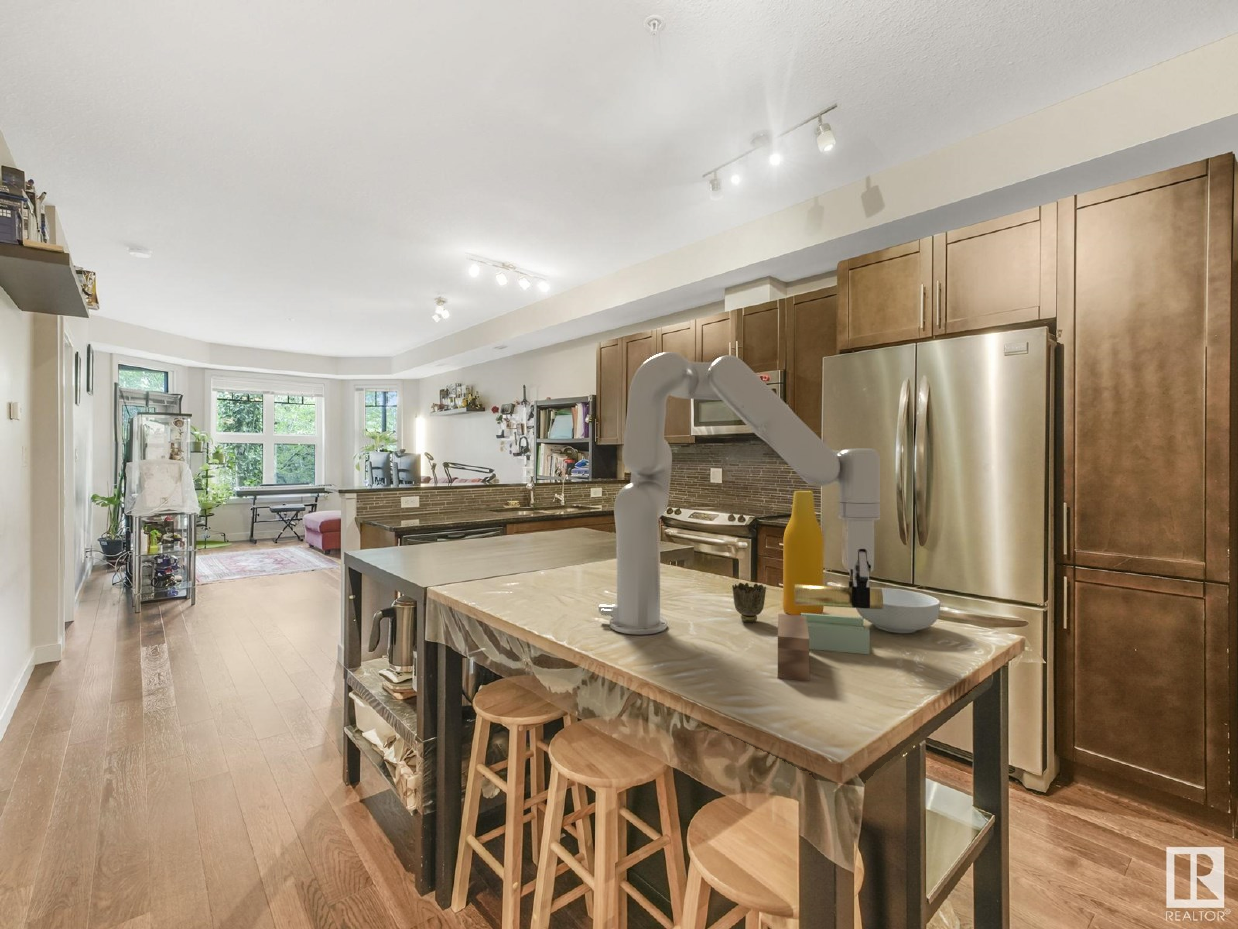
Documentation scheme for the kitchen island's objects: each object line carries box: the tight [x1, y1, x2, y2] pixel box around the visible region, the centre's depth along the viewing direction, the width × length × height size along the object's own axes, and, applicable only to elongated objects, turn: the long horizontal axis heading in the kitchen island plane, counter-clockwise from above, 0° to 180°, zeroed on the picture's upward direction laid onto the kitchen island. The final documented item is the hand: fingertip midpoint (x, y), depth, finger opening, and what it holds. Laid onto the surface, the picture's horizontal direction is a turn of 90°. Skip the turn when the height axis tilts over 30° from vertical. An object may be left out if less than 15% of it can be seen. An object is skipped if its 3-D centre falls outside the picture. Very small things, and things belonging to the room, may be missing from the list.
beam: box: [777, 613, 810, 682], centre depth 100 cm, size 5×14×7 cm, turn 164°
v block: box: [801, 613, 871, 655], centre depth 111 cm, size 12×9×4 cm
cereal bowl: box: [855, 587, 941, 634], centre depth 122 cm, size 17×17×7 cm
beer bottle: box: [782, 490, 825, 616], centre depth 134 cm, size 9×9×29 cm
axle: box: [795, 584, 883, 610], centre depth 111 cm, size 16×4×4 cm, turn 74°
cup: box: [731, 582, 767, 624], centre depth 127 cm, size 8×7×8 cm
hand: (859, 603), depth 110 cm, fingers closed on axle, 4 cm apart
